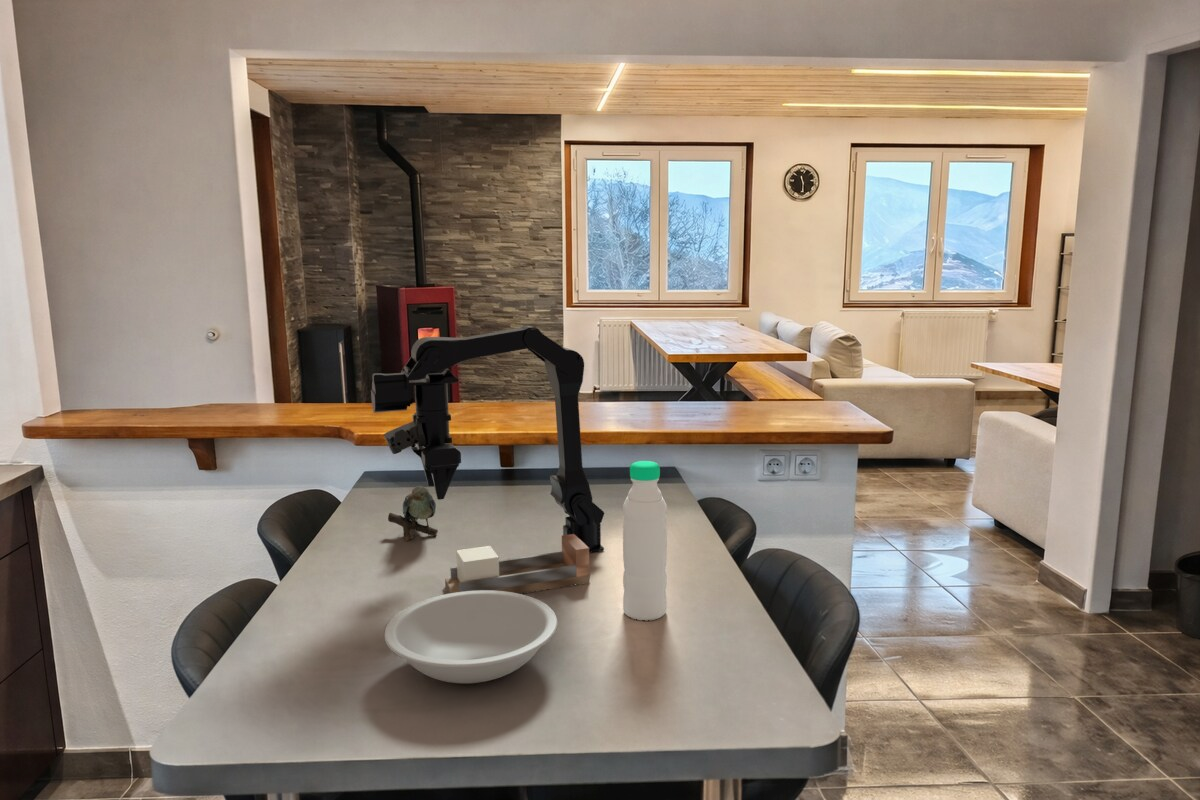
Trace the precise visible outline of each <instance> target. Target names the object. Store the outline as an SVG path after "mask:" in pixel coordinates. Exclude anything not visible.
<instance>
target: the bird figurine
mask: <svg viewBox="0 0 1200 800" xmlns="http://www.w3.org/2000/svg"><path fill="white" fill-rule="evenodd" d="M436 504H437V503H436V500H435V499H433V496H432V494H431V493H430V491H429V490H428V488H427V487H425V486H422V485H417V486H414V488H413V489H412V490H411V493H409V494H407V495H406V496H405V498H404V500H403V503H402V514H403V516H402V515H400V514H396V513H392V512H389V513H388V517H387V520H388V522H389V523H394V524H396V525H398V526H401V527H402V529H403V534H402V535H403V540H404V541H405V542H408V541H410V540H411V539H412V538H413V535H411V534H410V532H411V530H415V531H416V532H420V533H421V534H422V533H424V534H425V535H428V537H429V536H433V537H436V536H437V534H438V531H439V530H438V529H436V528H433V527H432V526H430V525H429V521H428V520H429V519H431V518H433V517H434V515H435V513H436V508H437V505H436ZM418 520H425V522H426V525H423V524H420V523H418Z"/></svg>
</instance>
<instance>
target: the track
mask: <svg viewBox="0 0 1200 800" xmlns="http://www.w3.org/2000/svg"><path fill="white" fill-rule="evenodd" d="M449 570H450V577H449V578H448V577H447V578H445V579H444V584H445V585H444V586H445V589H446V591H447V594H450V593H456V592H464V591H477V590H493V591H506V592H513V593H518V594H522V593H524V594H528V593H527V592H530V593H535V592H534V591H536V592H541V591H540V590H543V591H547V590H546V589H549V590H554V588H555V589H560V587H562V588H567V587H566V586H568V587H572V586H571V585H574V586H576V585H575V584H580V585H584V584H583V583H587V584H590V583H591V582H590V552H589V547H588V546H586V545H585V544H584V543H583V542H582V541H581V540H580V539H579V538H578V537H577V536H576V535H575V534H570V535H563V534H562V535H561V551H556V552H555V551H554V552H549V553H542V554H534V555H529V556H520V557H514V558H507V559H501V560H500V559H499V576H497V577H491V578H484V579H477V580H471V581H464V582H460V581H459V579H458V578H457V566H450V569H449ZM522 595H523V594H522Z"/></svg>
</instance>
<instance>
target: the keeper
mask: <svg viewBox="0 0 1200 800" xmlns="http://www.w3.org/2000/svg"><path fill="white" fill-rule="evenodd" d="M499 558H500V557H499V556H498V554H497V552H496V551H495V550H494V549H493V547H492V546H491V545H486V546H479V547H470V548H463V549H457V550H456V567H457V578H458V579H459V581H460V582H464V581H471V580H477V579H484V578H491V577H497V576H499V560H500V559H499Z"/></svg>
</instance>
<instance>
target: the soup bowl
mask: <svg viewBox="0 0 1200 800" xmlns="http://www.w3.org/2000/svg"><path fill="white" fill-rule="evenodd" d="M557 628H558V618H557V616H556V613H555V611H554V610H553V609H552V608H551V607H550V606H549V605H548V604H547V603H545V602H543V601H541V600H539V599H537V598H535V597H532V596H529V595H525V594H518V593H513V592H506V591H493V590H477V591H464V592H456V593H450V594H449V593H446V594H441V595H437V596H433V597H429V598H426V599H423V600H421V601H419V602H416V603H414V604H411V605H409V606H407V607H405V608H404V609H402V610H401V611H400V612H397V613H396V614H395V615H394V616H393V617H392V618H391V619H390V620H389V622H388V623H387V625H386V627H385V630H384V640H385V643H386V645H387V647H388V649H390V650H391V651H392V652H393V653H394V655H395V654H396V655H397V656H399V657H400V658H402V659H404V660H405V661H406V662H407V663H408V664H409V665H410V666H412V668H414V669H416V670H417V672H418V671H419V672H420V673H421V674H424V675H425V676H427V677H430V678H432V679H435V680H437V681H441V682H447V683H453V684H477V683H485V682H489V681H492V680H497V679H499V678H502V677H505V676H507V675H509V674H511V673H514V672H515V671H517V670H518V669H520V668H521V667H523V666H524V665H526V663H528V662H529V661H530V660H531V659H532V658H533V656H534V655H536V653H537V652H538V651H539V649H540V648H542V647H543V646H544V645H545V644H547V643H548V642H549V641H550V640H551V639H552V638H553V636H554V635H555V633H556V631H557Z"/></svg>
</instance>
